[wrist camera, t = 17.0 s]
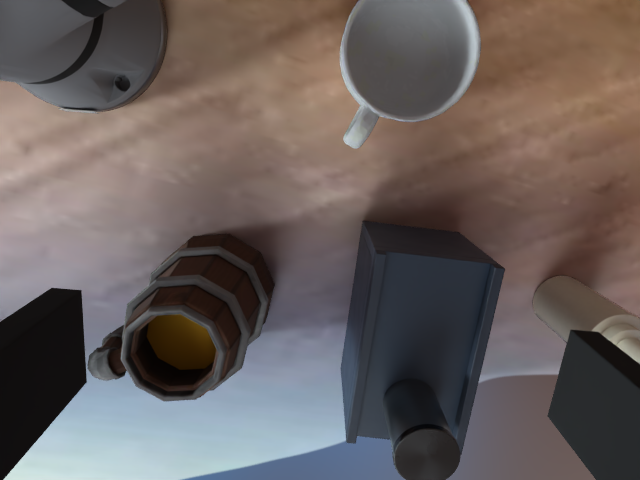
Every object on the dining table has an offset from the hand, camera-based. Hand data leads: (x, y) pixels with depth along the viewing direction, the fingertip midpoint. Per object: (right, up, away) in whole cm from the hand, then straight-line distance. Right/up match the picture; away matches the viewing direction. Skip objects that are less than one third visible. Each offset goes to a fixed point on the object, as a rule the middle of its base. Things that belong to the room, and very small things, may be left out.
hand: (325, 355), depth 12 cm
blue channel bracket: (+8, -4, +36) cm, 37 cm away
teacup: (+6, +19, +30) cm, 36 cm away
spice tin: (+8, -11, +26) cm, 30 cm away
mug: (-13, -3, +36) cm, 38 cm away
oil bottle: (+25, -3, +36) cm, 44 cm away
